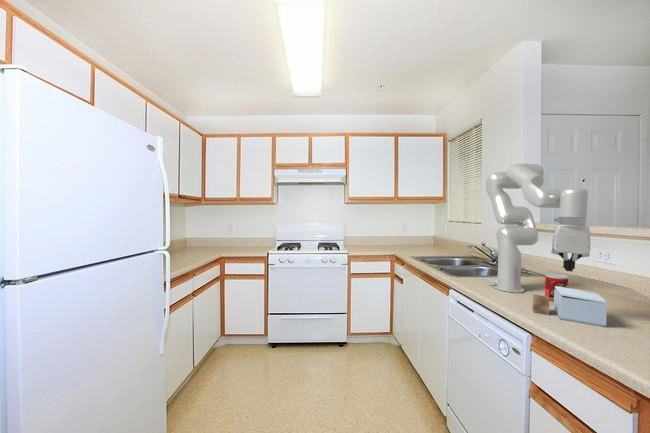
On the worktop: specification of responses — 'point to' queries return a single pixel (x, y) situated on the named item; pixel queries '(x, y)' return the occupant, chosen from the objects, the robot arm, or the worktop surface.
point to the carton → (580, 310)
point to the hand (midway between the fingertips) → (568, 270)
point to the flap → (580, 294)
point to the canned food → (554, 284)
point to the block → (540, 304)
